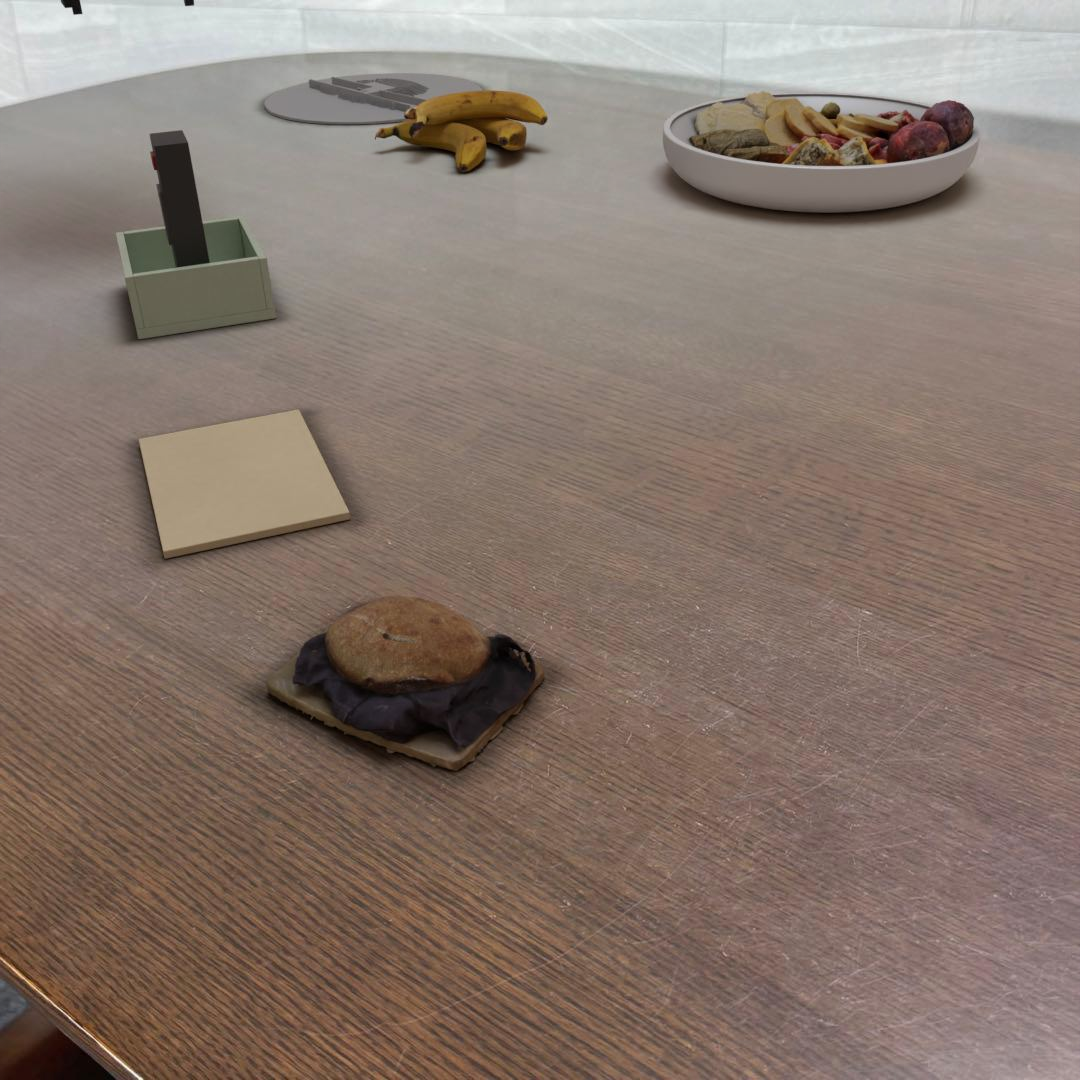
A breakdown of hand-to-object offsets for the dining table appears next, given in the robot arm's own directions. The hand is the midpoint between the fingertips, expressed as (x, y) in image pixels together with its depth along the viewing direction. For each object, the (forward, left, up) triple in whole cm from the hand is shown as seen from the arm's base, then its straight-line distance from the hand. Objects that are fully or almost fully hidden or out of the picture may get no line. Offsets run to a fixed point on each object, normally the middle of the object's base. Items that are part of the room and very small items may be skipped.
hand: (134, 3), depth 94 cm
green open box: (-7, -11, -20) cm, 24 cm away
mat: (-24, -36, -20) cm, 47 cm away
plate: (+53, +29, -20) cm, 64 cm away
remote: (-7, -11, -19) cm, 23 cm away
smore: (-32, -57, -20) cm, 68 cm away
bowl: (+50, -35, -20) cm, 64 cm away
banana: (+38, +1, -20) cm, 44 cm away
